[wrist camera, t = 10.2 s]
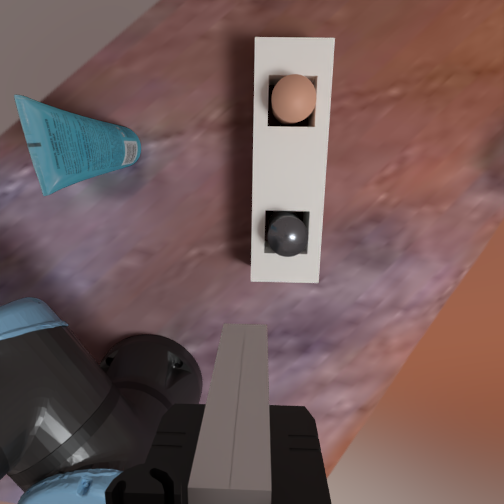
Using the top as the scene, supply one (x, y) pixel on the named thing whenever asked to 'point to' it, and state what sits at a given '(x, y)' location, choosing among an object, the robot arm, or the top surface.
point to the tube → (72, 145)
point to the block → (290, 155)
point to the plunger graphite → (287, 233)
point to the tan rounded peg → (293, 99)
